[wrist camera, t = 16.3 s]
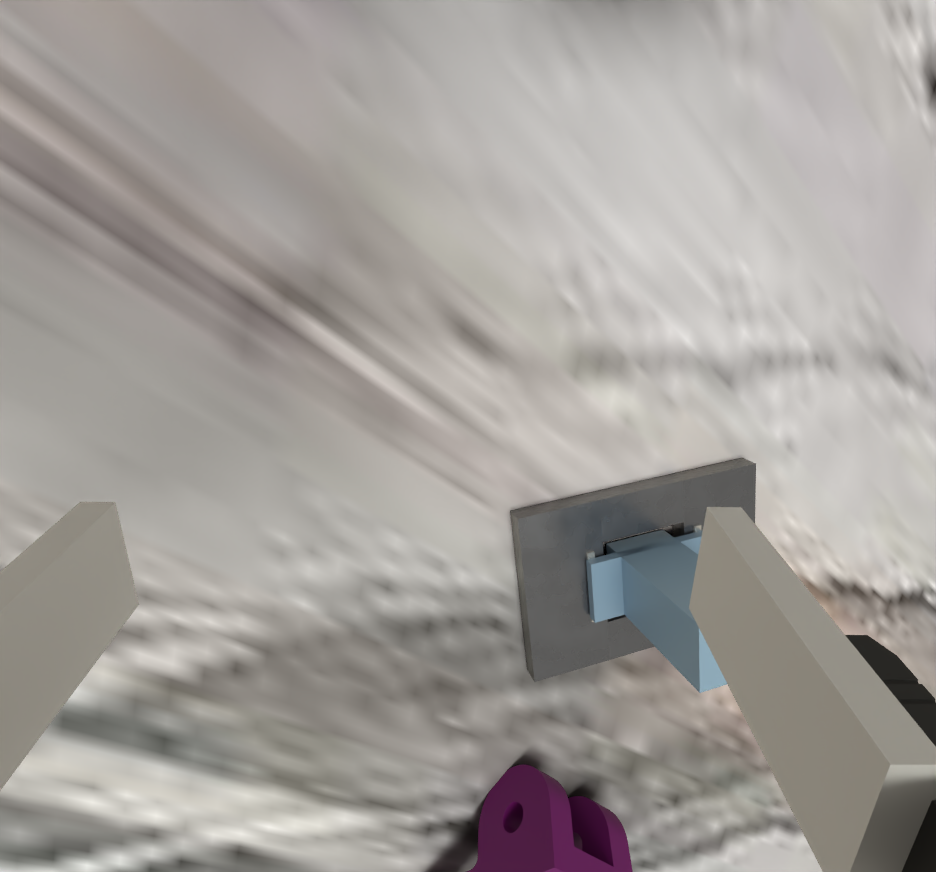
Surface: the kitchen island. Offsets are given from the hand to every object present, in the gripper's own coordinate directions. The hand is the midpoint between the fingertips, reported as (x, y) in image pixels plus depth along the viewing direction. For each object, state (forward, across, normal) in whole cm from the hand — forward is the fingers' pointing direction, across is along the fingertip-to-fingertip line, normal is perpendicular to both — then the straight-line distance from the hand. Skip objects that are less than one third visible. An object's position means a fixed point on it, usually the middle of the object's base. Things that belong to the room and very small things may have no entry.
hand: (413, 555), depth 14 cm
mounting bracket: (+25, +4, -46) cm, 53 cm away
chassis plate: (+31, +15, -21) cm, 41 cm away
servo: (+31, +15, -21) cm, 40 cm away
